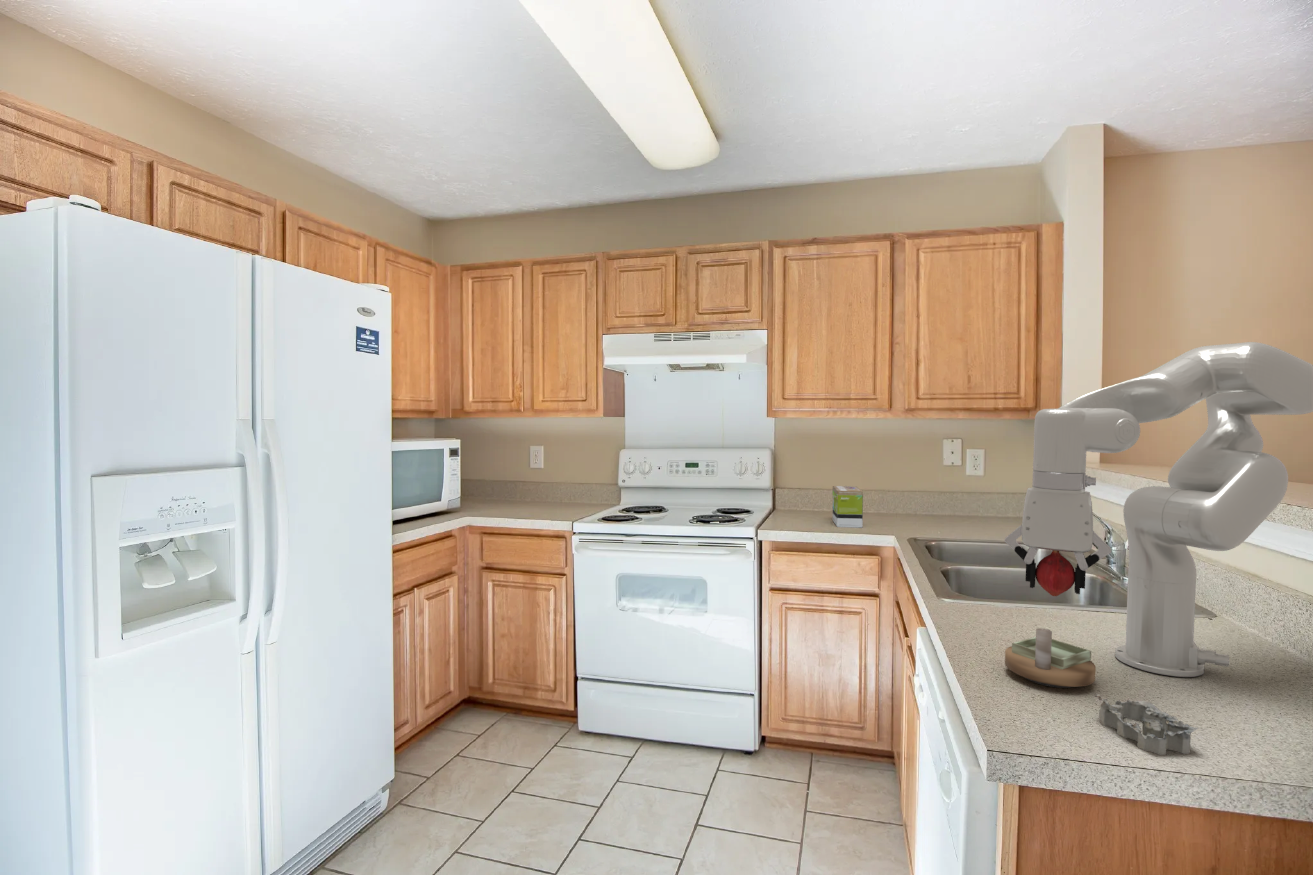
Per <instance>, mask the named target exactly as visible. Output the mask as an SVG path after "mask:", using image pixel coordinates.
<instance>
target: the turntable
mask: <svg viewBox="0 0 1313 875" xmlns="http://www.w3.org/2000/svg"><path fill="white" fill-rule="evenodd" d="M1004 665H1005V667H1006V668H1008V670H1009V671H1011V672H1012V673H1014V674H1016V675H1018V676H1020V677H1023V678H1024V677H1025V679H1026V678H1028V679H1031V680H1034V681H1038V682H1042V683H1047V684H1052V685H1059V686H1070V688H1074V687H1078V688H1079V687H1087V686H1090V685H1092V684H1094V683H1095V682H1096V671H1097V670H1096V669H1097V668H1096V664H1095V663H1094V662H1093V661H1092V650H1090V649H1087V648H1083V647H1080V646H1077V645H1073V644H1070V643H1067V642H1063V641H1060V640H1057V639H1054V638H1053V631H1052V630H1050V629H1047V628H1042V627H1040V628H1039V627H1038V628H1036V629H1035V636H1034V637H1030V638H1027V639H1026V638H1025V639H1023V640H1018V641H1015V642H1011V645H1010V646H1008V647H1007V648H1005V650H1004ZM1028 679H1027V680H1028Z"/></svg>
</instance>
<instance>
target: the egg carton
mask: <svg viewBox="0 0 1313 875" xmlns="http://www.w3.org/2000/svg"><path fill="white" fill-rule="evenodd" d="M1093 696H1094V697H1095V698H1098V700H1099V701H1102V702H1101V704H1100V709H1099V713H1098V718H1099V724H1101V725H1102V726H1105V727H1110V728H1113V729H1115V730H1116V734H1117V735H1119V736H1121V737H1122V738H1124V739H1130V740H1134V741H1135V742H1137V744H1136V745H1137V746H1136V747H1137V748H1139V749H1140V750H1143V751H1146V752H1151V753H1154V754H1157V755H1161V756H1164V755H1166V754H1167V750H1171V751H1175V752H1178V753H1181V754H1183V755H1184V754H1191V753H1190V752H1191V734H1192V733H1193V732H1194V731H1196V730H1198V729H1199V727H1196V726H1195V727H1193V726H1191V725H1190V724H1187V723H1184V722H1183V720H1179V718H1177V716H1175V715H1170V714H1169V713H1167V712H1166V711H1163V710H1161V709H1159V708H1158V707H1157V706H1156V705H1155V704H1154V703H1152V702H1150V701H1146V700H1129V699H1127V701H1125V702H1124V701H1123V702H1122V701H1121V700H1120V699H1118V700H1116V701H1115V703H1114V704H1110V702H1109V701H1108V698H1107V697H1102V696H1101V695H1100V694H1099V693H1095V694H1094V695H1093ZM1124 718H1126V719H1127V718H1128V719H1131V720H1133V721H1139V722H1142V728H1141V727H1140V724H1139V723H1138V722H1135V723H1134V724H1133V723H1131V722H1124Z"/></svg>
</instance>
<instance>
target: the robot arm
mask: <svg viewBox="0 0 1313 875" xmlns="http://www.w3.org/2000/svg"><path fill="white" fill-rule="evenodd" d="M1203 400H1205V403H1206V410H1207V412H1206V413H1207V428H1206V430H1205V432H1204V433H1203V434H1201V436H1200V437H1199V438H1198V439H1197V440H1196V442H1195V443H1193V444H1192V445H1191V447H1189V448H1188V449H1187V450H1186V451H1185V452H1184V453H1183V454H1182V456H1180V457H1179V459H1177V460H1176V462H1174V464H1173V465H1172V467H1171V468H1170V470H1169V472H1168V476H1167V482H1168V485H1169V486H1162V485H1161V486H1158V485H1157V486H1156V485H1153V486H1144V487H1141V488H1138V489H1136V490H1134V491H1132V492H1131V493H1130V494H1129V495H1128V496H1127V498H1126V499H1125V501H1124V503H1123V504H1124V505H1123V508H1122V509H1123V510H1122V512H1123V521H1124V525H1125V526H1124V527H1125V530H1126V535H1127V544H1128V570H1127V571H1128V573H1127V576H1128V577H1127V594H1126V595H1127V596H1126V620H1125V621H1126V622H1125V623H1126V624H1125V644H1124V645H1118V646H1117V647H1116V648H1115V649H1114V656H1115V658H1116V659H1117V660H1118V661H1120V662H1122V663H1123V664H1125V665H1128V666H1130V667H1132V668H1134V669H1138V670H1142V671H1145V672H1149V673H1152V674H1157V675H1163V676H1170V677H1180V678H1195V677H1199V676H1202V675H1203V674H1204V673H1205V664H1206V663H1207V664H1213V665H1215V666H1221V667H1227V668H1228V667H1230V656H1229V654H1223V653H1217V651H1216V650H1212V649H1203V648H1200V647H1199V646H1197V645H1196V643H1195V640H1194V639H1195V638H1194V637H1195V635H1194V634H1195V619H1196V618H1195V617H1196V616H1195V614H1196V591H1197V590H1196V588H1197V587H1196V586H1197V567H1196V563H1195V560H1194V557H1193V556H1192V554H1191V552H1190V550H1189V548H1188V547H1192V548H1198V549H1203V550H1209V551H1215V552H1225V551H1226V552H1227V551H1231V550H1234V549H1235V548H1236V547H1239V546H1241V544H1242V543H1244V542H1245V541H1246V540H1247V539H1248V538H1249V537H1250V536H1251V535H1252V534H1253V533H1254V532H1255V530H1257V529H1258V527H1259V526H1260V525H1261V524H1262V523H1263V522H1264V521H1265V520H1266V519H1267V518H1268V517H1269V516H1270V514H1272V512H1274V510H1276V508H1277V507H1278V505H1280V504H1281V502H1282V500H1283V499H1284V498H1285V495H1286V492H1287V490H1288V484H1289V473H1288V470H1287V467H1286V466H1285V464H1284V463H1283V462H1282V460H1280V459H1279V458H1278V457H1276V456H1275V455H1272V454H1270V453H1267V452H1262V451H1263V448H1264V440H1263V437H1262V435H1261V433H1260V431H1259V430H1258V429H1257V427H1256V426H1255V425H1254V422H1253V420H1252V417H1251V416H1252V415H1253V416H1254V415H1261V416H1263V415H1269V416H1270V415H1271V416H1274V415H1279V416H1280V415H1283V416H1285V415H1289V416H1290V415H1291V416H1292V415H1294V416H1295V415H1306V414H1310V413H1313V364H1312V363H1310V362H1308V361H1306V360H1304V359H1302V358H1300V357H1298V356H1296V355H1293V354H1292V353H1289V352H1287V351H1285V350H1283V349H1280V348H1278V347H1275V346H1273V345H1269V344H1266V343H1263V342H1257V341H1247V342H1237V343H1225V344H1215V345H1214V344H1212V345H1205V346H1203V345H1202V346H1199V347H1195V348H1193V349H1192V348H1191V349H1190V350H1188V351H1186V352H1184V353H1182V354H1180V355H1178V356H1176V357H1175V358H1172V359H1170V360H1169V361H1167V362H1165V363H1164V364H1161V365H1159V367H1156V368H1155V369H1152V370H1151V371H1149V372H1147V373H1144V374H1142V375H1141V376H1138V377H1137V376H1136V377H1134V378H1130V379H1127V380H1124V381H1121V382H1119V383H1115V384H1113V385H1109V386H1107V387H1106V386H1105V387H1104V388H1100V389H1097V390H1094V391H1091V392H1088V393H1085V394H1083V395H1081V396H1079V397H1077V398H1074V399H1072V400H1070V401H1069V402H1066V403H1065V404H1063V405H1062V406H1060V407H1058V408H1043V409H1040V410H1038V411H1037V412H1036V414H1035V416H1034V425H1033V426H1034V428H1033V429H1034V430H1033V460H1032V461H1033V462H1032V483H1031V484H1032V487H1028V488H1027V490H1026V493H1025V496H1024V497H1025V498H1024V503H1023V509H1022V511H1023V512H1022V521H1021V524H1020V525H1019V526H1018V527H1016V528H1015V529H1014V530H1013V531H1012V532H1011V533H1009V534H1008V535H1007V536H1006V537H1005V538H1004V543H1006V545H1008V547H1010V548H1011V549H1012V550H1013V551H1014V552H1015V553H1016V554H1017V556H1019V557H1020V558H1021V560H1022V561H1024V563H1025V582H1029V588H1030V589H1033V588H1035V587H1036V576H1035V571H1036V567H1037V563H1036V562H1035V557H1036V555H1037V553H1038V551H1039V549H1040V550H1047V551H1048V550H1049V551H1052V550H1056V551H1059V552H1067V553H1073V554H1074V556H1075V557H1074V558H1075V559H1076V560H1075V561H1076V562H1077V563H1076V567H1075V568H1074V570H1075V582H1074V585H1073V586H1074V587H1073V588H1074V594H1076V595H1081V589H1083V590H1085V589H1086V576H1087V574H1086V572H1087V570H1088V569H1089V568H1091V567H1092V566H1093V565H1095V564H1097V563H1098V562H1100V560H1102V559H1104V558H1105V557H1106V556H1108V555H1110V554H1111V553H1112V548H1111V547H1110V545H1108V543H1106V542H1105V541H1104V540H1103V538H1102V537H1101V536H1099V535H1098V534H1097V533H1096V532H1095V531H1094V512H1093V501H1092V496H1091V492H1090V491H1086V488H1088V487H1091V486H1095V487H1096V484H1097V483H1096V482H1097V477H1091V476H1088V474H1086V473H1087V472H1086V471H1087V452H1090V453H1098V454H1099V453H1100V454H1117V453H1121V452H1122V453H1123V452H1124V451H1127V450H1129V449H1130V448H1132V447H1133V446H1134V445H1135V444H1136V443H1137V441H1138V440H1139V438H1140V436H1141V427H1140V426H1141V425H1140V424H1143V423H1146V424H1147V423H1151V422H1152V423H1153V422H1157V421H1162V420H1167V419H1169V418H1174V417H1176V416H1178V415H1179V414H1181V413H1183V412H1185V411H1186V410H1188V409H1190V408H1192V407H1194V406H1195V405H1197V404H1199V403H1200V402H1202V401H1203ZM1020 537H1021V540H1022V541H1021V542H1022V543H1023V545H1025V546H1026V547H1028V549H1027V550H1026V549H1025V548H1024V547H1023V546H1022V545H1021V544H1020V543H1019V542H1018V541H1017V540H1018V539H1019V538H1020ZM1093 543H1094V545H1095V546H1096V547H1097V550H1096V551H1093V552H1092V553H1091V554H1089V555H1087V556H1085V554H1084V553H1087V552H1090V551H1091V550H1092V548H1093Z"/></svg>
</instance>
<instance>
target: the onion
mask: <svg viewBox="0 0 1313 875" xmlns="http://www.w3.org/2000/svg"><path fill="white" fill-rule="evenodd" d="M1035 581H1037V583H1038V585H1039V586H1040V587H1041V588H1042V589H1043V590H1045V592H1046V593H1048V594H1049V595H1050V596H1052V597H1058V596H1059V595H1061V594H1063V593H1066V592H1067V591H1068V590H1070V589H1071V588H1072V587H1073V586H1074V585H1075V568H1074V566H1073V565H1072V563H1071V562H1070V561H1069V560H1068V559H1067V558H1066V557H1064V556H1063V555H1062V554H1061V553H1060V551H1056V550H1051V553H1050V554H1048V555H1047V556H1044V557H1043V558H1042V559H1040V561H1039V562H1038V563H1037V564H1036V571H1035Z"/></svg>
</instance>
